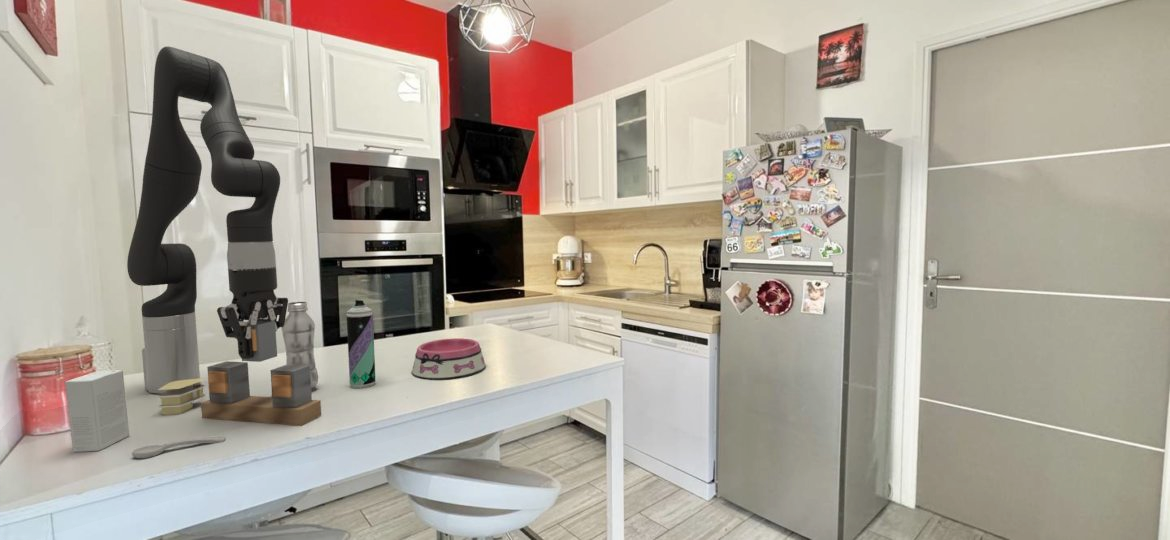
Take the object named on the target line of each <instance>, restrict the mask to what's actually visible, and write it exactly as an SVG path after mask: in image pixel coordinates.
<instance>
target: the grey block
mask: <svg viewBox="0 0 1170 540" xmlns="http://www.w3.org/2000/svg"><path fill="white" fill-rule="evenodd" d="M243 332H245V327H244V329H243ZM250 339H252V345H253V358H250V359H242V358H241V362H256V363H257V362H258V363H260V362H265V361H267V360H270V359H273V358H276V357H278V345H277V331H276V329H275V321H257V322H256V325H255V326H254V327H253V330H252V336H251V338H250Z"/></svg>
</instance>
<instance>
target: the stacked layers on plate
mask: <svg viewBox="0 0 1170 540" xmlns="http://www.w3.org/2000/svg"><path fill="white" fill-rule="evenodd" d="M203 381H205V378H203V377H200V378H197V379H188V380H179V381H174V382H170V383H168V384H166V385H165V386H163V387H161V388H160V389H158V390H167V389H169V390H167V391H166V392H164V393H160V394H159V395H157V398H158V399H159V398H160V403H161V404H160V405H158V408H159V409H161V411H162V412H161V413H162V416H163V415H164V416H167V415H181V414H183V413H185V412H187V411H188V410H190V409H192V408H193V403H194V402H196V401H199V400H202V399H203V398H206V397H207V394H205V393H204V388H205V387H206V385H205V384H203V383H201V382H203ZM198 382H200V384H197V383H198ZM195 383H196V384H195ZM192 384H193V385H192Z"/></svg>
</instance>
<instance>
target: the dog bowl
mask: <svg viewBox="0 0 1170 540" xmlns="http://www.w3.org/2000/svg"><path fill="white" fill-rule="evenodd" d="M486 367H487V366H486V362H485V357H484V355H483V351H482V348H481V346H480V343H479V341H478V340H475V339H473V338H464V337H463V338H459V337H458V338H456V337H455V338H454V337H453V338H442V339H436V340H432V341H427V342H423V343H421V344H419V346H417V348H416V353H415V356H414V362H413V365H412V369H411V372H410V373H411V376H413V377H415V378H417V379H421V380H424V381H425V380H426V381H451V380H459V379H464V378H467V377H472V376H475V375H477V374H479V373H481V372H483V371H485V369H486Z"/></svg>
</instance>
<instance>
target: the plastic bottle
mask: <svg viewBox="0 0 1170 540" xmlns="http://www.w3.org/2000/svg"><path fill="white" fill-rule="evenodd" d="M307 311H309V310H308V303H307V301H292V302H288V305H287V312H289V313H288V315H286V317H285V324H284V326H283V327H280V328H281V332H282V338H283V342H284V347H285V348H284V349H285V357H286V364H285V365H287V364H290V365H310V376H311V390H313V389H315V388H316V386H317V385H318V383H319V374H318V369H317V366H316V359H315V354H314V353H315V350H314V342H315V341H314V340H315V331H316V330H315V329H316V324H315V322H314V320H313V318H312V317H311V316H310V315H309V314H308V313H307Z"/></svg>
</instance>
